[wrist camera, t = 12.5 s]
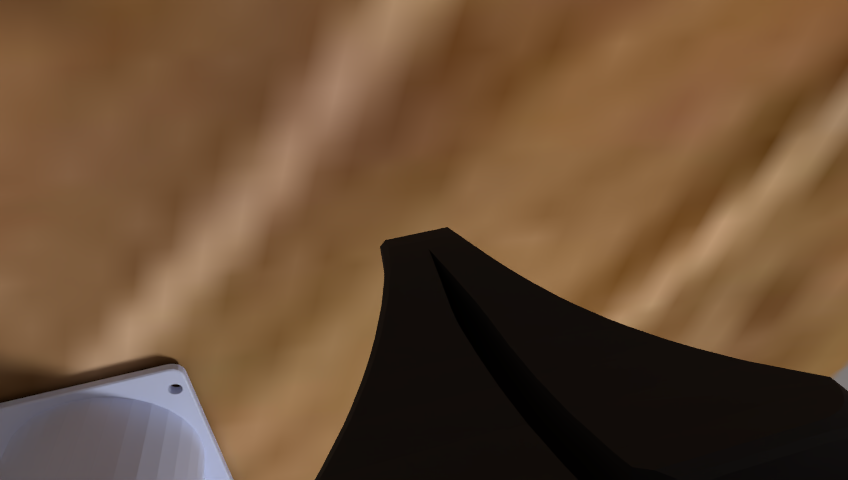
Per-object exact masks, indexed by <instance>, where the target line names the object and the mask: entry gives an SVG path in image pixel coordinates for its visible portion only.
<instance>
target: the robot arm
mask: <svg viewBox="0 0 848 480" xmlns="http://www.w3.org/2000/svg"><path fill="white" fill-rule="evenodd" d="M380 249H381V255H382V261H383V268H384V288H383V297H382V306H381V311H380V316H379V321H378V326H377V331H376V335H375V340H374V343H373V347H372V351H371V354H370V358H369V361H368V364H367V367H366V370H365V373H364V376H363V379H362V382H361V384H360V387H359V389H358V392H357V394H356V397H355V399H354V402H353V405H352V407H351V409H350V412H349V414H348V416H347V419H346V421H345V423H344V425H343V427H342V429H341V431H340V433H339V435H338V437H337V439H336V441H335V443H334V445H333V447H332V449H331V451H330V452H329V454H328V456H327V458H326V460H325V462H324V464H323V466H322V468H321V470H320V472H319V473H318V475H317V477H316V479H315V480H848V391H847V390H846V389H845V388H843V387H842V386H841V385H840V384H838V383H837V382H836V381H835V380H833V379H832V378H831V377H827V376H821V375H816V374H811V373H806V372H801V371H796V370H790V369H785V368H780V367H775V366H770V365H764V364H759V363H754V362H749V361H745V360H740V359H736V358H732V357H728V356H724V355H721V354H717V353H713V352H709V351H705V350H701V349H697V348H694V347H690V346H687V345H683V344H680V343H676V342H673V341H670V340H666V339H663V338H660V337H657V336H655V335H652V334H649V333H646V332H643V331H640V330H637V329H634V328H631V327H628V326H626V325H623V324H620V323H618V322H615V321H612V320H610V319H607V318H605V317H603V316H600V315H598V314H596V313H593V312H591V311H589V310H587V309H584V308H582V307H580V306H577V305H575V304H573V303H571V302H569V301H567V300H565V299H563V298H561V297H559V296H557V295H555V294H553V293H551V292H549V291H547V290H545V289H544V288H542V287H540V286H538V285H536V284H534V283H532V282H531V281H529V280H527V279H525V278H524V277H522V276H520V275H519V274H517V273H515V272H514V271H512V270H510V269H509V268H507V267H506V266H504V265H502V264H501V263H499V262H498V261H496V260H495V259H493V258H492V257H490V256H488V255H487V254H485V253H484V252H483V251H481V250H480V249H478V248H477V247H475V246H474V245H472V244H471V243H469V242H468V241H467V240H465V239H464V238H462V237H461V236H459V235H458V234H457V233H455V232H454V231H452V230H451V229H449V228H448V227H446V228H441V229H437V230H432V231H427V232H422V233H418V234H413V235H408V236H403V237H399V238H394V239H389V240H385V241H384V243H383V244H382V245H381V246H380ZM173 384H178V385H181V386H180V387H173V386H171V385H173ZM0 480H233V478H232V476H231V473H230V471H229V469H228V467H227V464H226V462H225V460H224V457H223V455H222V453H221V450H220V448H219V446H218V444H217V441H216V439H215V437H214V434H213V432H212V430H211V427H210V425H209V423H208V421H207V418H206V416H205V414H204V411H203V409H202V407H201V405H200V402H199V400H198V398H197V395H196V393H195V391H194V388H193V386H192V384H191V382H190V379H189V377H188V375H187V372H186V370H185V369H184V368H183V367H182V366H180V365H178V364H166V365H162V366H158V367H153V368H149V369H145V370H141V371H136V372H132V373H128V374H123V375H119V376H115V377H110V378H106V379H102V380H97V381H93V382H89V383H84V384H80V385H76V386H72V387H67V388H63V389H59V390H54V391H50V392H46V393H41V394H37V395H33V396H28V397H24V398H20V399H16V400H11V401H7V402H3V403H0Z"/></svg>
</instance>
